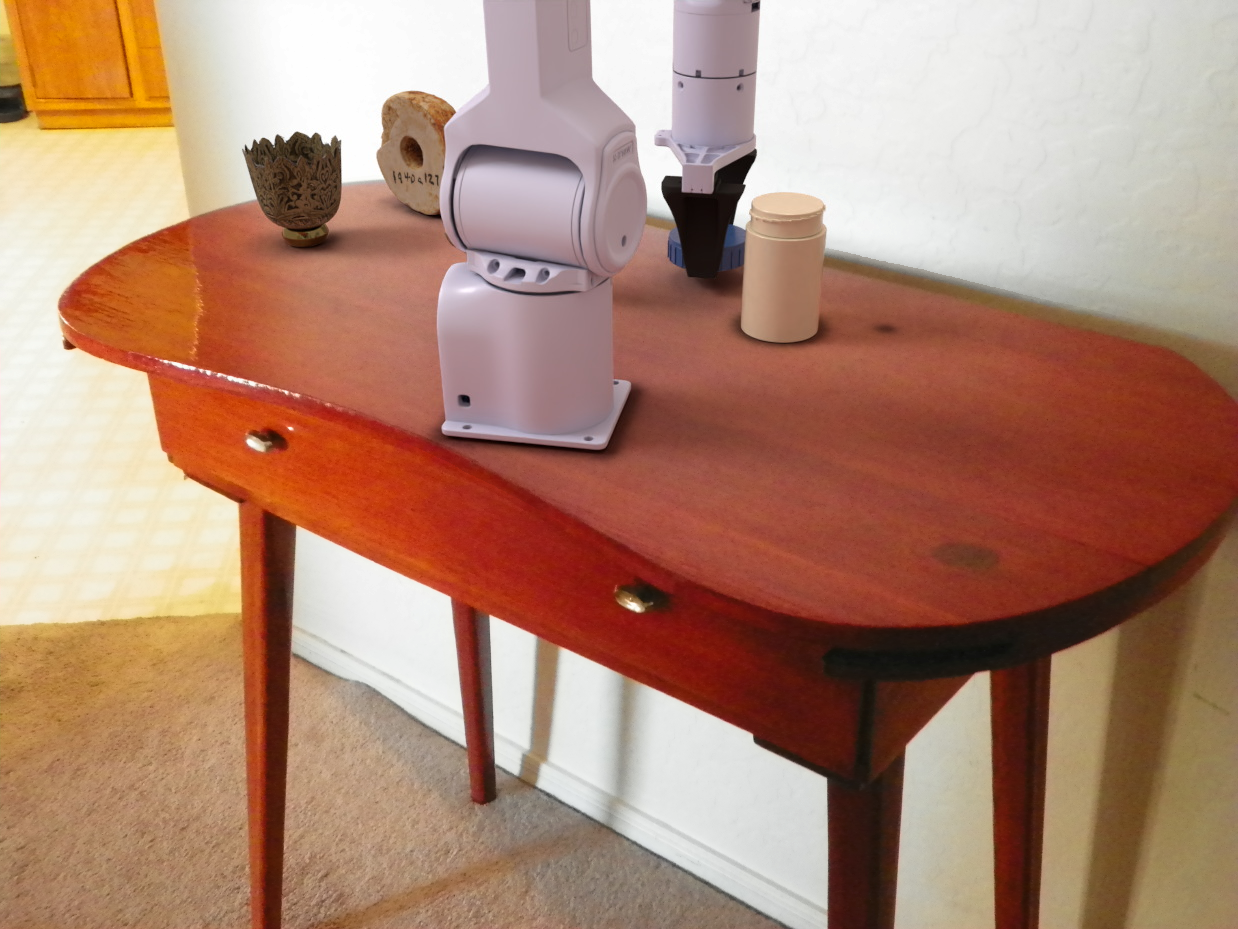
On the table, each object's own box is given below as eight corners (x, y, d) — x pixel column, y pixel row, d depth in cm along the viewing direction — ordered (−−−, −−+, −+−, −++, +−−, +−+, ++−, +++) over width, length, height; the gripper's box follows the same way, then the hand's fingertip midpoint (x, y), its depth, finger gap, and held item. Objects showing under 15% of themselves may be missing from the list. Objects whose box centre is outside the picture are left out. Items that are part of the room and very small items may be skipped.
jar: (738, 340, 75) (744, 213, 71) (742, 309, 79) (749, 188, 75) (817, 344, 74) (829, 217, 70) (818, 313, 79) (828, 191, 74)
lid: (757, 249, 85) (759, 226, 84) (735, 276, 80) (737, 252, 80) (682, 240, 87) (683, 217, 86) (656, 266, 82) (656, 242, 81)
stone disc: (484, 217, 97) (476, 97, 92) (450, 227, 95) (439, 105, 90) (412, 191, 104) (401, 78, 99) (378, 200, 101) (365, 85, 96)
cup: (239, 246, 91) (221, 146, 87) (309, 221, 97) (295, 126, 92) (303, 264, 88) (287, 161, 84) (372, 237, 93) (360, 139, 89)
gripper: (673, 47, 84) (670, 225, 91) (636, 91, 72) (636, 293, 79) (769, 50, 83) (758, 230, 89) (748, 95, 70) (738, 300, 77)
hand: (708, 260), depth 84 cm, fingers closed on lid, 6 cm apart
